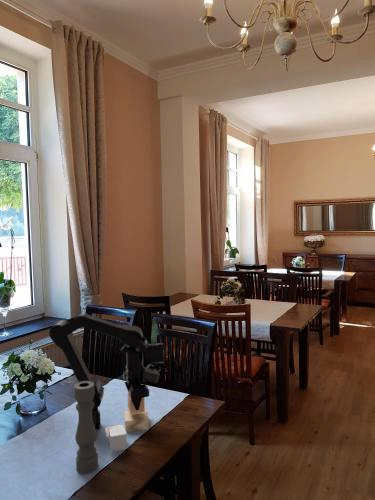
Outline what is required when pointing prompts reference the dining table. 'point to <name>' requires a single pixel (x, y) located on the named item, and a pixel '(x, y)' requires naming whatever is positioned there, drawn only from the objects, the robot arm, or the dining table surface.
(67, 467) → the dining table surface
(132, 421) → the maple base block
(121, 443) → the white cube
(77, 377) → the robot arm
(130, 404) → the terracotta block
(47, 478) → the dining table surface
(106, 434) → the card
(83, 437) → the candle holder
